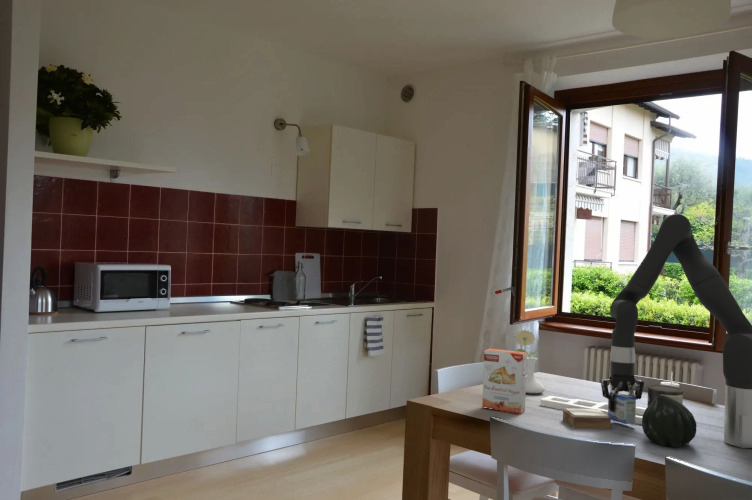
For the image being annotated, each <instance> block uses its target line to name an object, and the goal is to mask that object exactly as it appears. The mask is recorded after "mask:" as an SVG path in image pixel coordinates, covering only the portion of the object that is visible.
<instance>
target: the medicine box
mask: <svg viewBox="0 0 752 500" xmlns="http://www.w3.org/2000/svg"><path fill="white" fill-rule="evenodd" d="M614 401H615V412H611V411H610V409H609V408H608V416H609V417H610V418H611V421H615V422H618V423H621V424H625V425H629V424H630V425H631V424H636V423H635V417H636V415H637V414H636V407H637V405H636V403H637V400H636V397H633V396H630V395H628V394H627V393H621V392H619V393H618V394H617V395H616V397H615V400H614Z"/></svg>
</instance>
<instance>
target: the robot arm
mask: <svg viewBox="0 0 752 500" xmlns="http://www.w3.org/2000/svg"><path fill="white" fill-rule="evenodd" d="M671 253H673V255H674V256H675V257H676V260H677V261H678V262H679V264H680V266H681V268H682V270H683V273H684V275H685V277H686V280H687V282H688V283H689V285H690V287H691V289H692V291H693V293H694V294H695V297H697V300H698V301H699V302H700V303H701V305H702V306H703V307H704V309H706V310H707V311H708V312H709V313H710V314H711V316H713V317H714V318H715V319H716V321H719V323H720V324H721V325H722V327H723V329H724V330H725V332H726V333H727V335H728V337H726V339H725V341H724V342H723V347H722V372H723V376H724V379H725V391H724V392H725V393H724V421H723V422H724V424H723V425H724V426H723V428H724V433H723V442H724V443H726V444H728V445H731V446H735V447H739V448H741V449H752V323H751V321H749V320H748V318H747V316H746V315H745V313H744V312H743V310H742V309H741V306H740V305H739V303H738V302H737V300H736V298H735V297H734V295H733V294H732V292H731V290H730V288H729V287H728V284H727V283H726V281H725V280H724V278H723V277H722V275H721V274H720V272H719V271H718V269H717V268H716V267H715V266H714V265H713V263H712V261H710V260H709V259H708V258H707V256H705V255H704V253H703V252H702V250H701V249H700V247H699V245H698V243H697V242H696V239H695V237H694V234H693V231H692V225H691V222H690V220H689V218H687V216H685V215H684V214H681V213H673V214H670V215H667V216H666V217H665V218H664V219H663V220H662V222H661V224H660V226H659V228H658V231H657V233H656V236H655V238H654V240H653V243H652V244H651V247H650V248H649V250H648V251H647V253H646V254H645V256H644V258H643V260H642V261H641V263H640V264H639V265H638V267H637V268H636V270H635V272H634V273H633V274H632V276H631V277H630V279H629V281H628V283H626V284H627V285H626V286H625V287H624V288H623V289H622V290H621V291H620V292H619V293H618V295H617V296H615V298H614V299H613V301H612V302H611V304H610V308H609V311H610V312H609V313H610V316H611V317H612V318H613V319H616V320H615V326H614V327H615V328H614V329H612V331H611V348H610V356H609V358H610V363H609V364H610V367H609V369H610V370H609V374H610V376H609V378H608V379H607V378H606V379H603V378H601V379H600V387H601V392H602V394H601V395H602V397H603V398H605V399H607V400H608V401H607V403H608V408H609V409H610V411H611V412H615V401H614V400H615V397H616V395H617V394H618V393H621V392H625V394H626V395H630V396H633V397H636V401H637V400H641V399H642V395H643V390H644V385H645V382H644V380H641V379H636V377H635V374H636V373H635V371H636V366H635V365H636V351H635V340H636V339H635V333H636V330H637V325H638V320H639V310H638V306H637V304H638V303H639V302H640V301H641V300H643V299H645V298H646V297H647V296H648V295H649V293H650V291H651V290H652V288H654V285H655V284H656V282H657V280H658V279H659V276H660V274H661V273H662V270H663V268H664V266H665V264H666V262H667V260H668V258H669V257H670V255H671ZM610 385H611V387H610V389H609V386H610ZM634 385H635V390H634V389H633V386H634Z"/></svg>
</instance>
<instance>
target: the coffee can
mask: <svg viewBox="0 0 752 500" xmlns="http://www.w3.org/2000/svg"><path fill="white" fill-rule="evenodd" d="M659 394H660V395H664V396H667V397H670V398H672V399H674V400H676V401H678V402H680V403H681V404H683V401H684V389H683V388H680V387H679V388H678V387H673V386H667V385H660V384H649V385H648V386H647V407H648V406H649V405H650V404H651V403H652V402H653V401H654V399H655V398H656V397H657V396H658V395H659ZM683 405H684V404H683Z"/></svg>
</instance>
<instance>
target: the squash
mask: <svg viewBox="0 0 752 500" xmlns="http://www.w3.org/2000/svg"><path fill="white" fill-rule="evenodd" d="M645 408H646V410H645V412H644V414H643V415H642V416H643V417H642V425H641V427H642V430H643V433H644V435H645V436H646V437H647V439H648V440H649V441H650V442H652V443H654V444H658V445H660V446H663V447H668V446H669V447H672V448H678V447H680V446H681V445H683V446H684V445H688V444H689V443H691V441H692V440H693V439H694V438H695V437H696V435H697V421H696V418H695V416H694V415H693V413H692V412H691V411H690V410H689V409H688V408H687V407H686V406H685V405H684V404H681V403H680V402H678V401H676V400H674V399H672V398H670V397H667V396H664V395H660V394H659V395H658V396H657V397H656V398H655V399H654V401H653V402H652V403H651V404H650V405H649V406H648V405H647V407H645Z"/></svg>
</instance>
